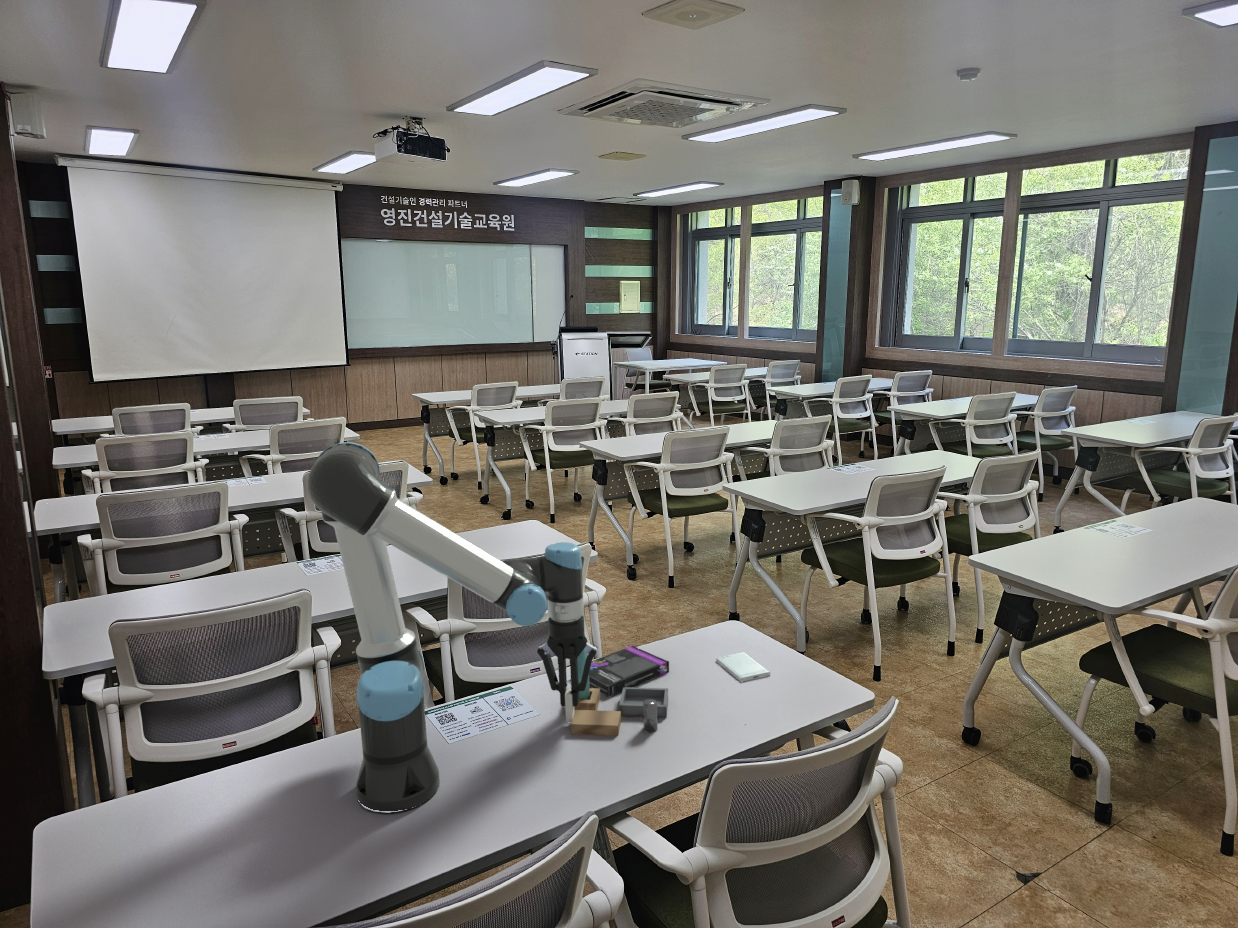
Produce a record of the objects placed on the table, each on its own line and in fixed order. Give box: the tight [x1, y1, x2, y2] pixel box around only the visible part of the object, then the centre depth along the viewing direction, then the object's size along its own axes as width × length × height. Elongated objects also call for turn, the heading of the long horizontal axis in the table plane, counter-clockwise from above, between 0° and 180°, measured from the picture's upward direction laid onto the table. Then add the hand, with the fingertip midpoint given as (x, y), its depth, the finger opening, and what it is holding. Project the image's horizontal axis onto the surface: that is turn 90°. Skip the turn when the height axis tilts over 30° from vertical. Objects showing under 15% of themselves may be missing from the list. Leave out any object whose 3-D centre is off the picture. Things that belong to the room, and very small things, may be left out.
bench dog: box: [642, 699, 658, 733], centre depth 167 cm, size 3×3×6 cm
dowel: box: [578, 637, 590, 700], centre depth 177 cm, size 3×3×16 cm
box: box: [589, 645, 670, 698], centre depth 193 cm, size 14×4×20 cm
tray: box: [618, 687, 669, 718], centre depth 177 cm, size 10×8×3 cm
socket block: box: [564, 687, 601, 714], centre depth 178 cm, size 7×7×2 cm
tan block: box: [570, 709, 622, 736], centre depth 169 cm, size 10×6×2 cm, turn 84°
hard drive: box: [715, 651, 771, 683], centre depth 195 cm, size 2×8×12 cm
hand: (570, 718), depth 170 cm, fingers closed
